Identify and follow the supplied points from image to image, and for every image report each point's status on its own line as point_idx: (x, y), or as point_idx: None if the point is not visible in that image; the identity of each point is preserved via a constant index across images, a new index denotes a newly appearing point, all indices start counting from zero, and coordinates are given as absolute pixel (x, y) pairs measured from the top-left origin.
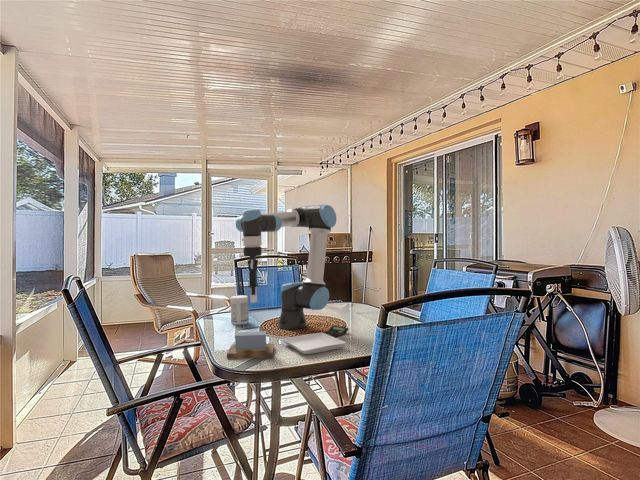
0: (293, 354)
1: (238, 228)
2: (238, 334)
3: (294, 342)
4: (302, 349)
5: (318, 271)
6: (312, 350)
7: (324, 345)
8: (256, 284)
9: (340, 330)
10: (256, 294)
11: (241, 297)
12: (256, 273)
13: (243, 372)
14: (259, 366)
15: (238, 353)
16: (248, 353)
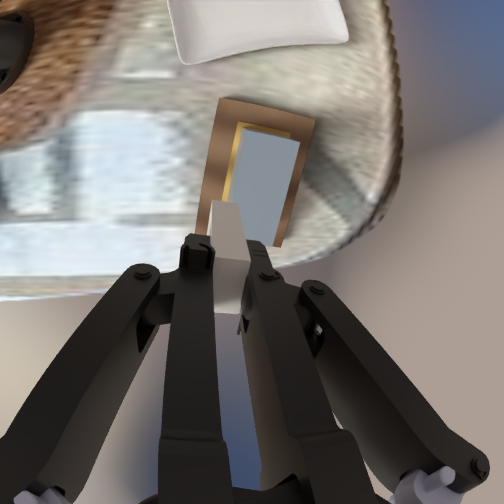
0: (304, 57)
1: None
2: (259, 236)
3: (195, 29)
4: (281, 24)
5: None
6: (340, 15)
7: None
8: (203, 270)
9: None
10: (241, 228)
11: None
12: (103, 364)
13: (382, 208)
14: (364, 168)
15: (289, 217)
16: (296, 189)
